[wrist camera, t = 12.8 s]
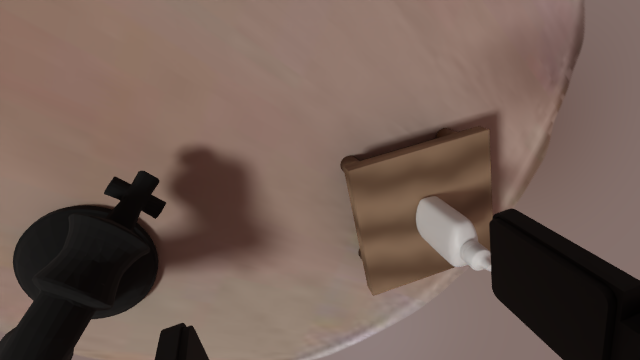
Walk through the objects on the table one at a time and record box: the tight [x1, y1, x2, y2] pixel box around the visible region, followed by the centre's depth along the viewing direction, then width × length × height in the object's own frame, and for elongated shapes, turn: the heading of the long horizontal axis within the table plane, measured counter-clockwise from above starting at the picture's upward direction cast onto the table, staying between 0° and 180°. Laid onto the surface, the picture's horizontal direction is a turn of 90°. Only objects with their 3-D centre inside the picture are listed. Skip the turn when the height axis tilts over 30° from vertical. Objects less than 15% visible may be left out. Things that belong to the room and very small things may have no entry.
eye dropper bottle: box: [416, 196, 491, 271], centre depth 41 cm, size 4×6×12 cm
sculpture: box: [0, 171, 166, 360], centre depth 33 cm, size 15×24×25 cm, turn 143°
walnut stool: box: [341, 126, 493, 296], centre depth 50 cm, size 18×18×7 cm
